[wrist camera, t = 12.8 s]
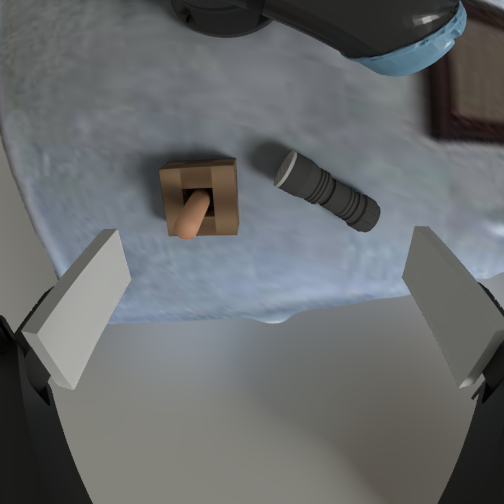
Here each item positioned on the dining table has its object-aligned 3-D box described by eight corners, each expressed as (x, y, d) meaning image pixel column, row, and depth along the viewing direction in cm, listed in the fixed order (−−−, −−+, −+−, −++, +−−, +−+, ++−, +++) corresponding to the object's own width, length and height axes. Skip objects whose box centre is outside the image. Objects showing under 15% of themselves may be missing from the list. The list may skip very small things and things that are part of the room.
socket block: (167, 162, 41) (158, 169, 38) (235, 158, 41) (233, 165, 37) (175, 224, 46) (168, 236, 43) (239, 222, 46) (237, 234, 42)
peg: (193, 184, 43) (171, 217, 32) (212, 182, 43) (195, 216, 32) (196, 201, 44) (175, 240, 34) (214, 200, 44) (199, 238, 34)
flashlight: (376, 198, 43) (389, 212, 38) (357, 225, 46) (367, 242, 41) (291, 146, 40) (296, 155, 35) (273, 178, 42) (274, 191, 38)
